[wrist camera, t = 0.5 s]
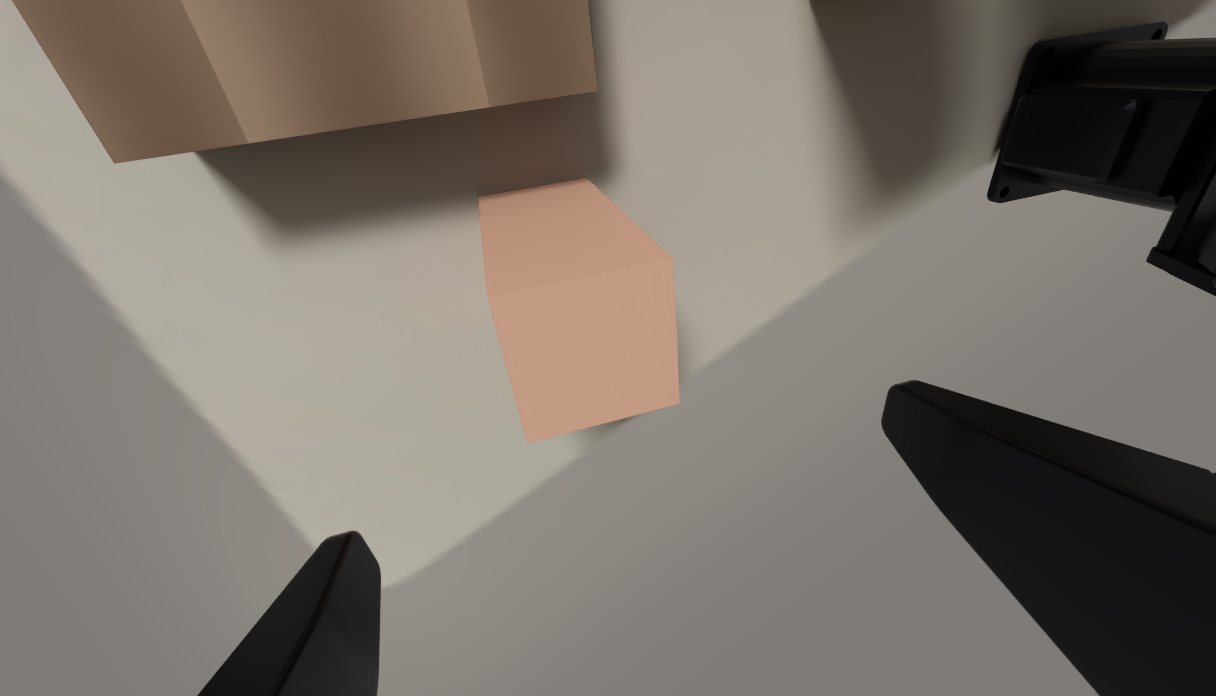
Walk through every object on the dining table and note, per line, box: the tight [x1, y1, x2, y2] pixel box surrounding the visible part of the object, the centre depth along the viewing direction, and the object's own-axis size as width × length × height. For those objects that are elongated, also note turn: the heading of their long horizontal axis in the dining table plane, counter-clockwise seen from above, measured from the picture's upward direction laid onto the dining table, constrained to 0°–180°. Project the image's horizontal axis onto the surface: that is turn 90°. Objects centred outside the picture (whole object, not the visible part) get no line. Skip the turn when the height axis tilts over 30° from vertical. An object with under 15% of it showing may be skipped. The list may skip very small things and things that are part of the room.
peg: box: [478, 178, 680, 443], centre depth 15 cm, size 4×4×9 cm
